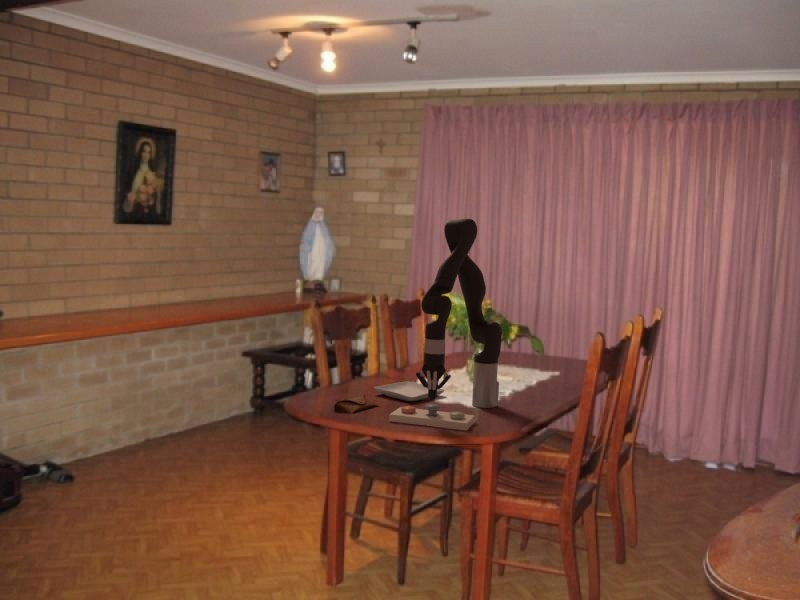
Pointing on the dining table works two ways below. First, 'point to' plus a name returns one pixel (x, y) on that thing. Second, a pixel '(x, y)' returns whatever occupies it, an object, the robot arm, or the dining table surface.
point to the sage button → (457, 415)
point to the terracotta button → (408, 409)
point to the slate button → (432, 409)
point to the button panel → (432, 419)
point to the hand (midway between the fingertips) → (432, 399)
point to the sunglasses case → (354, 405)
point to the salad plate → (406, 391)
